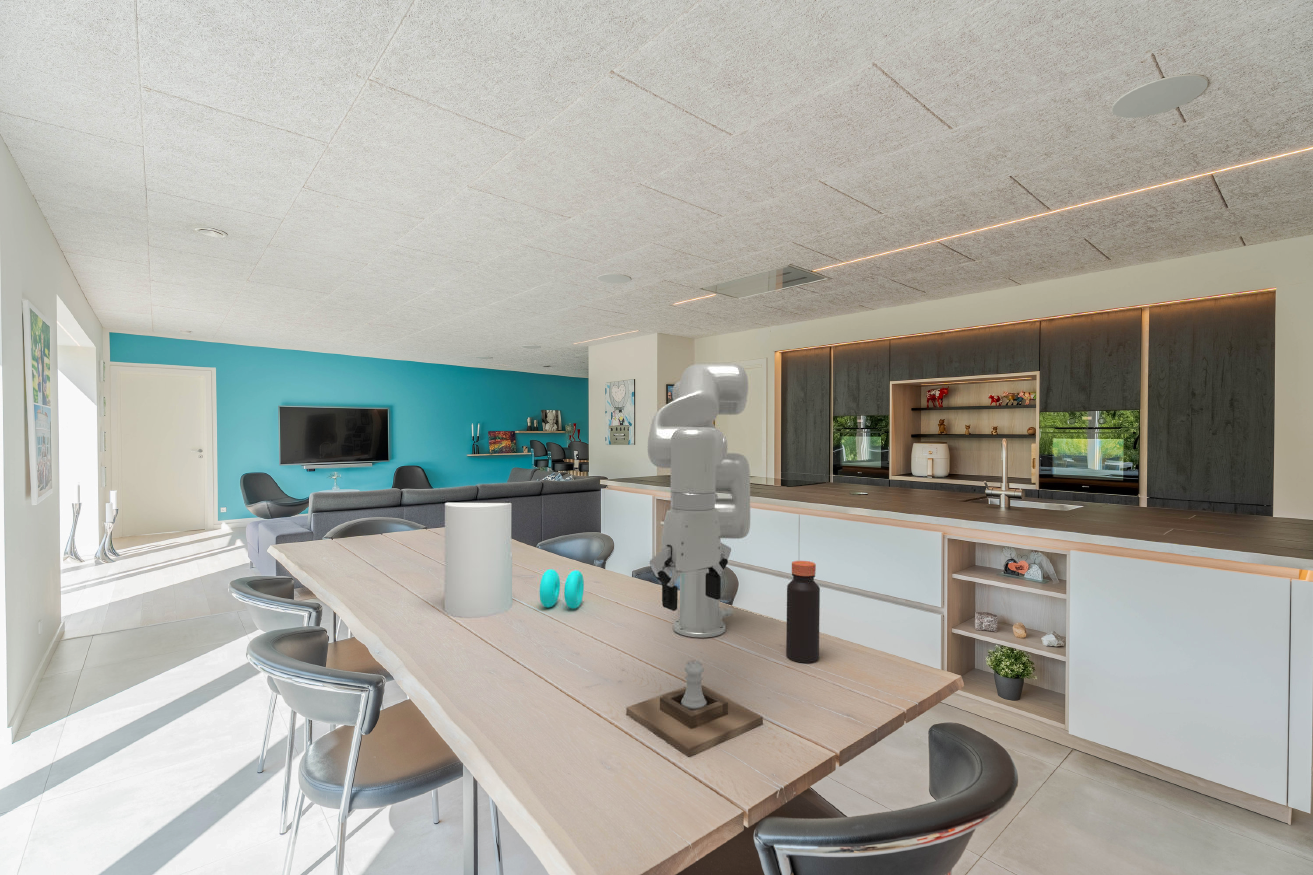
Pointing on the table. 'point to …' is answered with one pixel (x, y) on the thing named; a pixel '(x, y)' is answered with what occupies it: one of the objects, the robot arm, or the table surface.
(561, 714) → the table surface
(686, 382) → the robot arm
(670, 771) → the table surface
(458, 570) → the cylinder
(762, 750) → the table surface
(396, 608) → the table surface
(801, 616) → the bottle
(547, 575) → the donuts
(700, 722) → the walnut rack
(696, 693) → the rook chess piece
